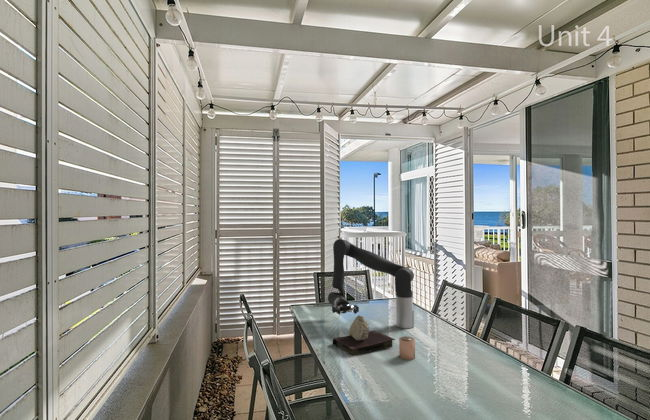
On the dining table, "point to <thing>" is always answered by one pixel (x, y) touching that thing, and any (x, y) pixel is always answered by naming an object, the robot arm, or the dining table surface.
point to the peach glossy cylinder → (407, 348)
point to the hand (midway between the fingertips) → (347, 312)
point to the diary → (363, 343)
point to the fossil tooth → (359, 328)
